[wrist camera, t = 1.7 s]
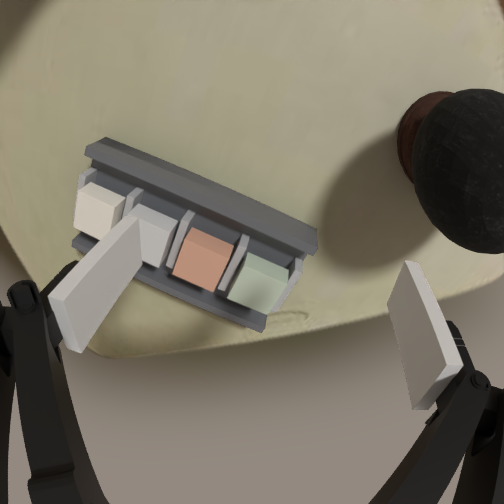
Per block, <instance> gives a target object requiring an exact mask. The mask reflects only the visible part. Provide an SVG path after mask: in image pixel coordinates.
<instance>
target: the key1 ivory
mask: <svg viewBox="0 0 504 504" xmlns="http://www.w3.org/2000/svg"><path fill="white" fill-rule="evenodd" d="M125 200H126V197H123V196H121V195H119V194H117V193H114V192H112V191H110V190H108V189H105V188H103V187H101V186H99V185H96V184H94V183H92V182H90V183H88V184H87V185H85V186H84V187H82V188H81V189H80V190H78V195H77V202H76V210H75V218H74V227H75V228H76V229H78V230H80V231H82V232H84V233H86V234H88V235H91V236H93V237H95V238H97V239H99V240H101V239H102V238H103V237H104V236H105V235H106V234H107V233H108V232H109V231H110V230H111V229H112V228H113V227H114V226H115V225H116V224H117V223H118V222H120V221H121V217H122V212H123V208H124V204H125Z"/></svg>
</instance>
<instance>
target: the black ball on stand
mask: <svg viewBox="0 0 504 504" xmlns="http://www.w3.org/2000/svg"><path fill="white" fill-rule="evenodd" d="M397 147H398V155H399V159H400V163H401V165H402V168H403V170H404V172H405V174H406V175H407V176H408V178H409V179H410V181H411V182H412V183H413V184H414V186H415V191H416V194H417V196H418V199H419V201H420V204H421V206H422V208H423V209H424V211H425V213H426V215H427V216H428V218H429V219H430V221H431V222H432V224H433V225H434V226H436V227H437V228H438V229H439V230H440V231H441V232H442V233H443V234H444V235H445V236H446V237H447V238H448V239H449V240H451V241H452V242H454V243H456V244H457V245H459V246H461V247H463V248H465V249H468V250H471V251H474V252H477V253H486V254H500V253H504V94H503V93H500V92H497V91H494V90H490V89H467V90H462V91H458V92H456V93H452V92H443V91H438V92H434V93H429V94H427V95H425V96H423V97H421V98H419V99H418V100H417V101H416V102H415V103H413V104H412V105H411V107H410V108H409V109H408V110H407V112H406V113H405V115H404V117H403V119H402V121H401V124H400V128H399V131H398V139H397Z"/></svg>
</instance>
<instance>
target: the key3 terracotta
mask: <svg viewBox="0 0 504 504" xmlns="http://www.w3.org/2000/svg"><path fill="white" fill-rule="evenodd" d="M233 247H234V246H233V245H231V244H229V243H227V242H224V241H222V240H220V239H218V238H215V237H213V236H211V235H209V234H206V233H204V232H202V231H200V230H197V229H195V228H193V227H192V228H191V230H190V231H189V233H188V234H187V236H186V238H185V239H184V242H183V245H182V248H181V250H180V253H179V256H178V259H177V262H176V265H175V267H174V270H173V273H172V274H173V275H175V276H177V277H180V278H182V279H184V280H186V281H189V282H191V283H193V284H195V285H198V286H200V287H202V288H204V289H207V290H209V291H211V292H214V290H215V288H216V286H217V283H218V281H219V279H220V277H221V275H222V273H223V271H224V269H225V267H226V265H227V263H228V261H229V258H230V256H231V253H232V250H233Z"/></svg>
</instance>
